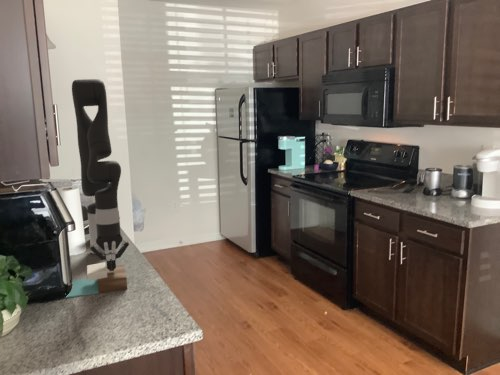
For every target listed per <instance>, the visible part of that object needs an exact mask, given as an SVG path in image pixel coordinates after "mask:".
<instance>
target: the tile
mask: <svg viewBox="0 0 500 375" xmlns="http://www.w3.org/2000/svg"><path fill="white" fill-rule="evenodd" d="M106 267H107V262H106V261H103V262H98V263H94V264H88V265H86V271H87V272H86V274H87V279H88V281H92V280H97V279H102V278H107V277H108V276H107V269H106Z"/></svg>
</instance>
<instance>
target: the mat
mask: <svg viewBox="0 0 500 375" xmlns="http://www.w3.org/2000/svg"><path fill="white" fill-rule="evenodd" d="M72 281H73V286H72V290H71V292H70V293H69V294H68V295H67V296H66V297H65V296H64V299H70V298H76V297H83V296H90V295H96V294H100V293H99V291H98V279H97V280H92V281H88V278H82V279H75V280H72Z"/></svg>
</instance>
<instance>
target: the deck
mask: <svg viewBox="0 0 500 375" xmlns="http://www.w3.org/2000/svg"><path fill="white" fill-rule="evenodd" d="M106 269H107V266H106ZM107 276H108V277H107V278H102V279H98V291H99V293H98V294H100V293H107V292H114V291H121V290H128V279H127V274H126V268H125V264H119V265H116V269H114V271H110V270H108V269H107Z"/></svg>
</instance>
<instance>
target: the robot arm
mask: <svg viewBox="0 0 500 375" xmlns="http://www.w3.org/2000/svg"><path fill="white" fill-rule="evenodd" d="M106 90H107V89H106V86H105V82H104V81H103V80H101V79H98V78H96V79H95V78H89V79H87V78H86V79H85V78H84V79H74V80H73V81H72V82H71V95H72V101H73V108H74V113H75V119H76V120H75V121H76V131H77V132H76V134H77V146H78V152H79V154H78V155H79V160H80V176H81V177H80V180H81V184H80V185H81V191H82V194H83V195H84V196H86V197H94V201H95V202H92V203H91V204H89V205H87V206H88V207H86V208H87V220H88V232H89V233H88V234H89V243H90V244H89V245H90V246H89V248H90V253H91V254H93V255H95V256H97V257H98V258H99V259H100V260H101V261H105V262H106V267H107V269H108V270H110V271H114V269H116V266H117V264H116V260H117V259H120V258H121V257H122V256H123V254H124V253H125V251H126V250H127V248H128V247H129V245H130V243H129V241H128V240H125V239H123V236H122V234H121V221H120V220H121V219H120V218H121V216H120V210H119V205H118V204H119V203H118V189H119V184H120V179H121V175H122V168H121V165H120V164H119V162H118V161H116V160H104V161H100V160H103V159H107V158H108V157H110V156H111V155H112V153H113V152H112V150H113V149H112V146H111V139H110V134H109V119H108V118H109V116H108V115H109V114H108V100H107V99H108V98H107V91H106ZM85 107H97V112H96V115H95V117H94V118H93V120H92V119H91V117H90V116H89V114H88V113H87V111H86V109H85ZM120 245H121V247H120V248H119V246H120ZM118 248H119V249H118ZM117 249H118V251H117ZM116 251H117V253H116ZM110 253H111V254H110ZM110 256H111V257H110Z"/></svg>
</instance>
